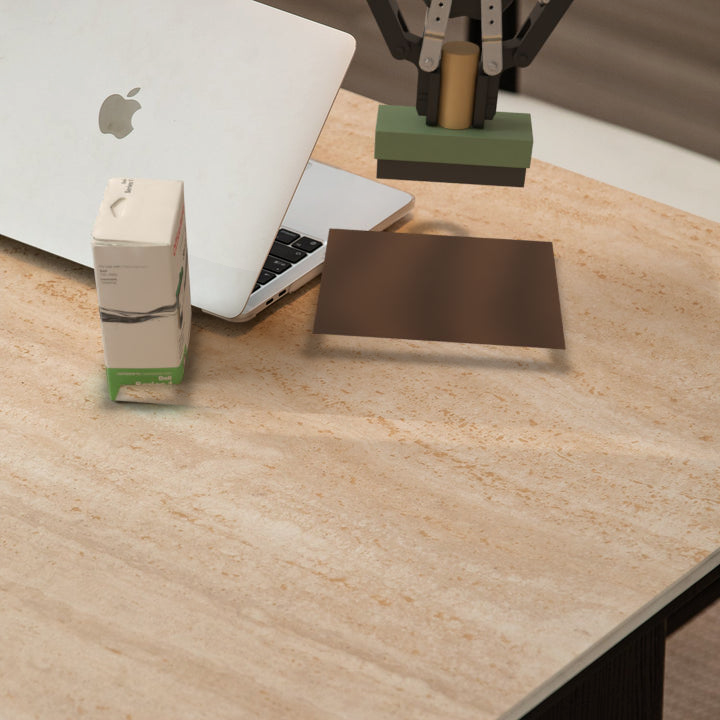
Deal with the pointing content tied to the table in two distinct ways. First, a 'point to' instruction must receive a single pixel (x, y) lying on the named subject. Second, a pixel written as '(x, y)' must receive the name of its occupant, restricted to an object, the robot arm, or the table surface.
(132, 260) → the ink box
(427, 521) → the table surface
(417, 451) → the table surface
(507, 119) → the brush
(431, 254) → the board
